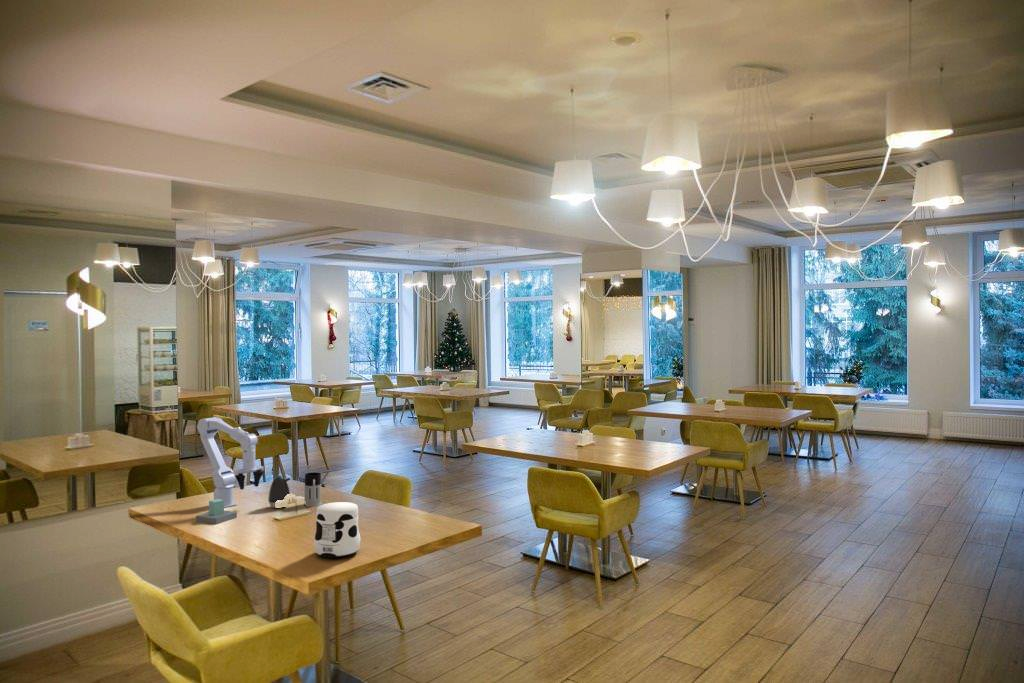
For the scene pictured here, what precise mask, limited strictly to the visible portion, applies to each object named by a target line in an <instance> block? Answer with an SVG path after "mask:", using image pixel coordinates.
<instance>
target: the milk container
mask: <svg viewBox="0 0 1024 683" xmlns="http://www.w3.org/2000/svg"><path fill="white" fill-rule="evenodd" d="M315 514H316V516H315V517H316V520H315V526H316V528H315V535H314V537H313V539H314V540H313V548H314V552H315V554H316V555H318V556H320V557H323V558H330V559H331V558H332V559H337V558H344V557H349V556H351V555H354V554H355V553H357V552H358V551H359V549H360V547H361V542H362V541H361V533H360V531H359V506H358V504H356V503H354V502H349V501H347V502H346V501H340V502H339V501H338V502H328V503H324V504H323V503H322V505H319V506H317V508H316V513H315Z"/></svg>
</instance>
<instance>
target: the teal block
mask: <svg viewBox="0 0 1024 683" xmlns="http://www.w3.org/2000/svg"><path fill="white" fill-rule="evenodd" d="M224 510H225V509H224V500H221V499H215V500H214V499H212V500H209V501H208V512H209V514H211V515H214V516H215V515H220V514H224Z"/></svg>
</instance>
